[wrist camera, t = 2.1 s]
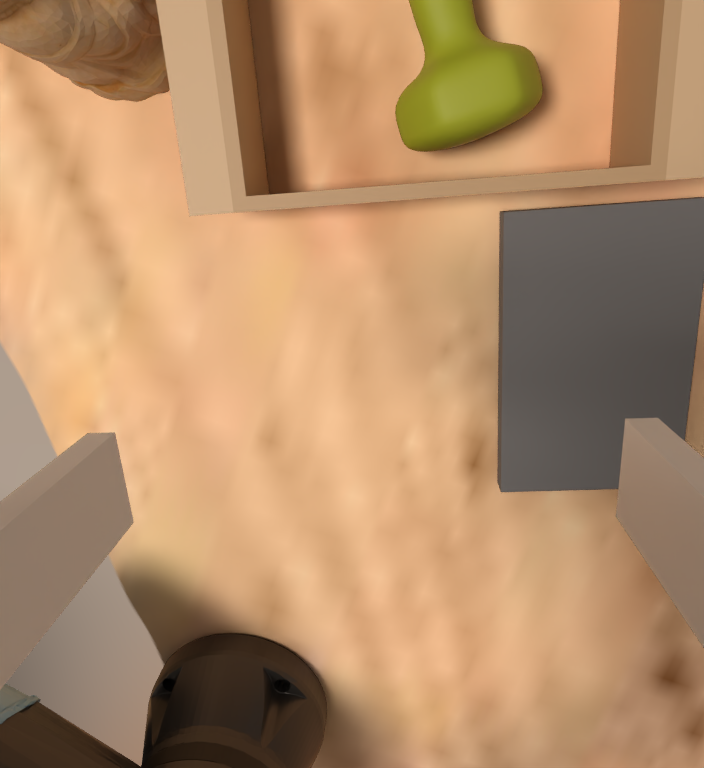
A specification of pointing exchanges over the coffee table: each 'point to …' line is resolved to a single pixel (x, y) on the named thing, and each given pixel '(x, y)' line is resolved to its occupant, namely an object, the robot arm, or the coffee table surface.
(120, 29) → the statue
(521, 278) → the mat
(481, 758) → the coffee table surface
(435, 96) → the dumbbell
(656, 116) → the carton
